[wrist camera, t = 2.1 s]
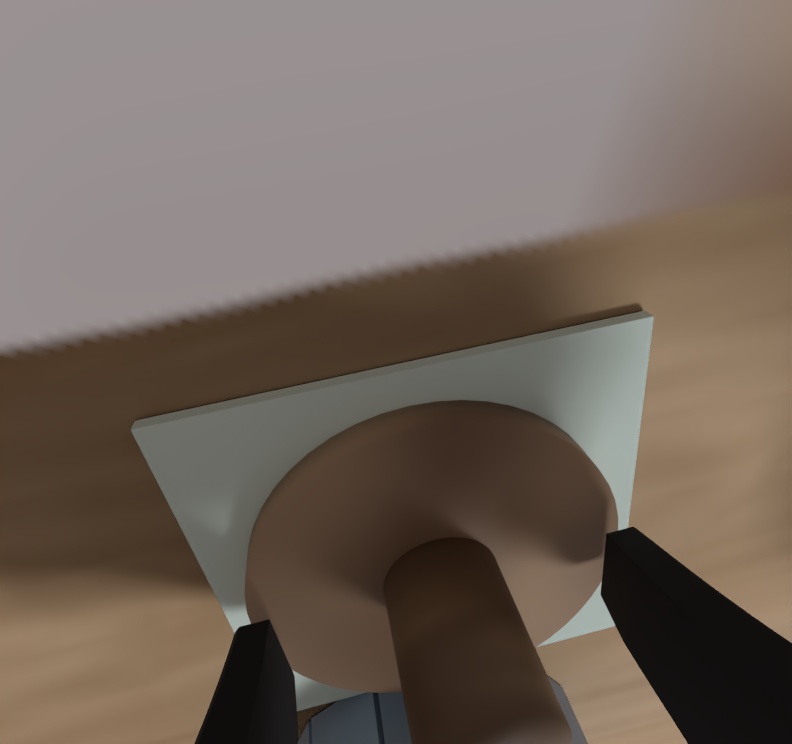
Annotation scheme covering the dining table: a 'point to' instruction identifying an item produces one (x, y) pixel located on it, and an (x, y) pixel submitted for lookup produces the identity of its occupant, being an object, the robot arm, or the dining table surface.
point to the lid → (435, 564)
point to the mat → (379, 393)
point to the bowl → (388, 720)
